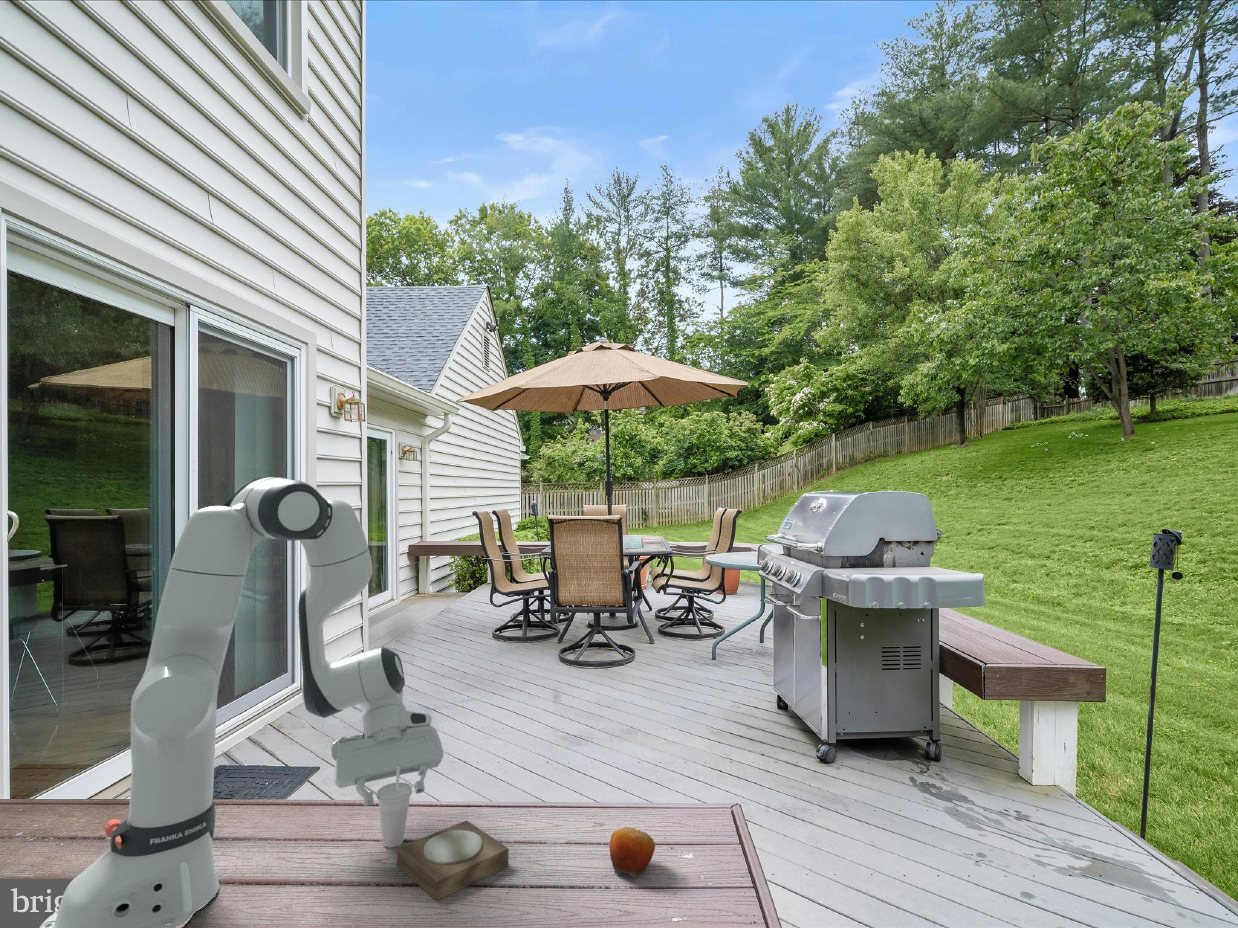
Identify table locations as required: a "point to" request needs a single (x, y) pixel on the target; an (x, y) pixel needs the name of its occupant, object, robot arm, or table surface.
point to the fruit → (631, 850)
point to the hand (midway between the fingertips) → (395, 797)
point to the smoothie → (394, 811)
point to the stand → (452, 859)
